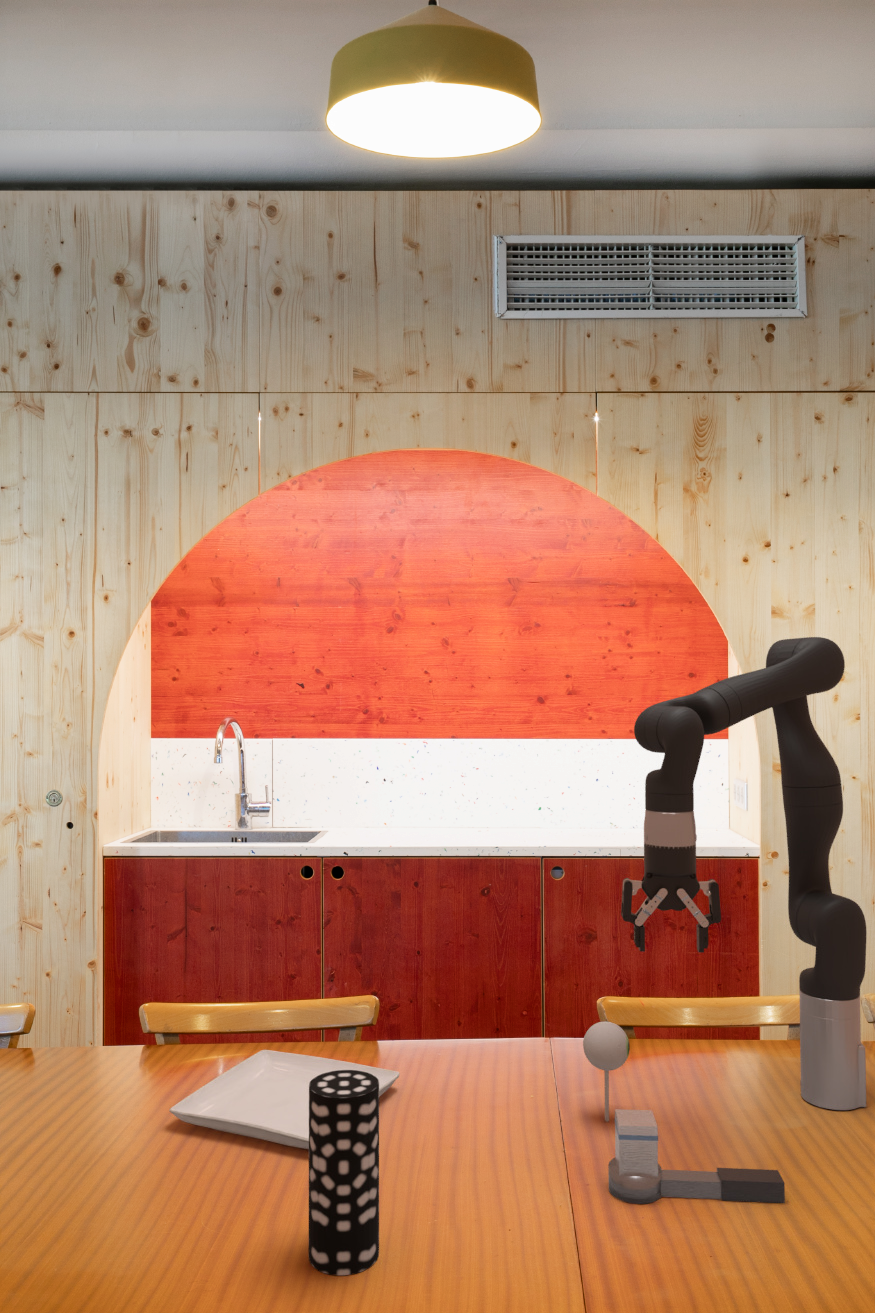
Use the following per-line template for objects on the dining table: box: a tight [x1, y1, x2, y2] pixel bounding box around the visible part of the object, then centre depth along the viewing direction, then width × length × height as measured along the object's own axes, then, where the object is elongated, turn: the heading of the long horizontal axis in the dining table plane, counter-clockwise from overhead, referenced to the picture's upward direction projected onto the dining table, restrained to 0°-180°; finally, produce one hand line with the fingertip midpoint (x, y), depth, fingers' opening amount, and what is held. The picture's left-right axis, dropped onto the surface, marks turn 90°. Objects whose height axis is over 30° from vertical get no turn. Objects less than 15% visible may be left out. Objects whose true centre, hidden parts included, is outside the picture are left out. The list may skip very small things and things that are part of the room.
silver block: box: [614, 1108, 659, 1177], centre depth 131 cm, size 5×5×6 cm
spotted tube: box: [308, 1070, 380, 1276], centre depth 116 cm, size 8×8×20 cm
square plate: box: [169, 1049, 401, 1150], centre depth 156 cm, size 27×27×4 cm
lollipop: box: [582, 1021, 631, 1122], centre depth 152 cm, size 7×7×15 cm
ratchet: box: [607, 1157, 786, 1205], centre depth 130 cm, size 22×7×7 cm, turn 85°
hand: (670, 951), depth 145 cm, fingers open, 8 cm apart
